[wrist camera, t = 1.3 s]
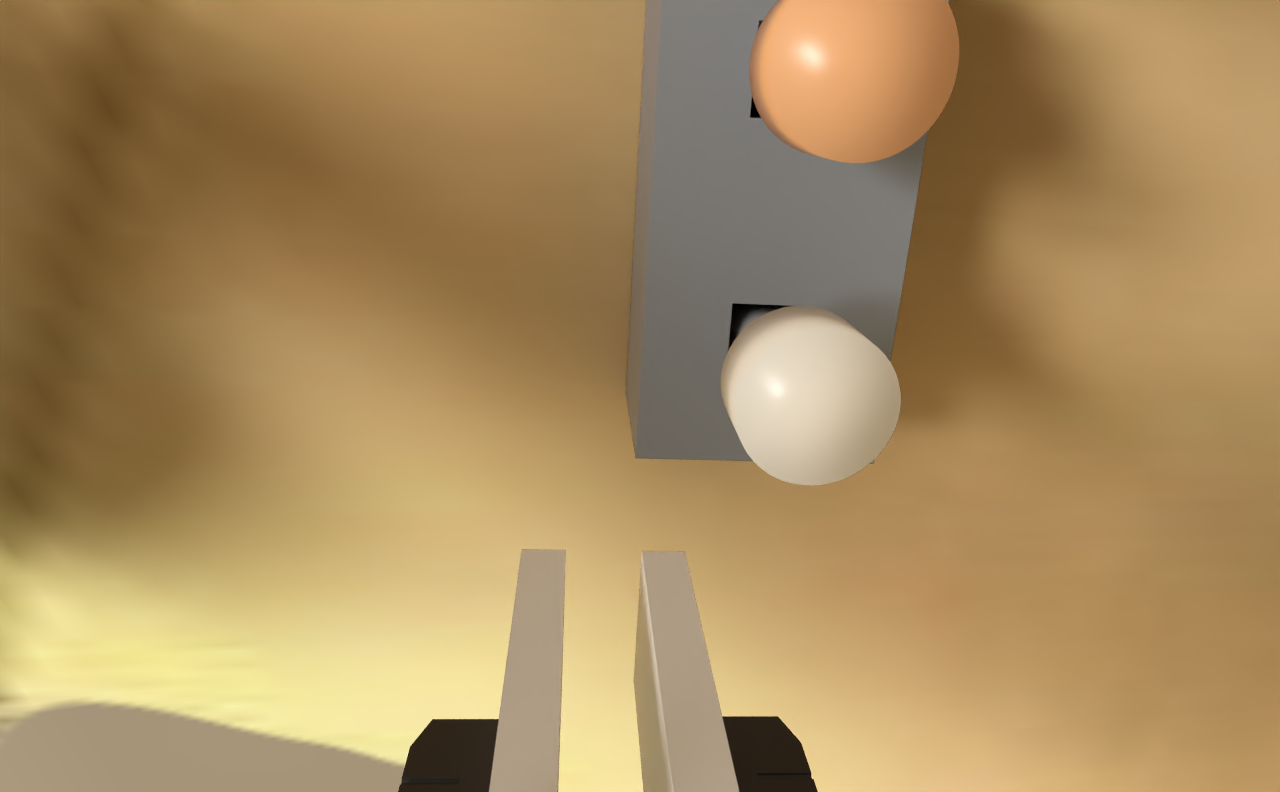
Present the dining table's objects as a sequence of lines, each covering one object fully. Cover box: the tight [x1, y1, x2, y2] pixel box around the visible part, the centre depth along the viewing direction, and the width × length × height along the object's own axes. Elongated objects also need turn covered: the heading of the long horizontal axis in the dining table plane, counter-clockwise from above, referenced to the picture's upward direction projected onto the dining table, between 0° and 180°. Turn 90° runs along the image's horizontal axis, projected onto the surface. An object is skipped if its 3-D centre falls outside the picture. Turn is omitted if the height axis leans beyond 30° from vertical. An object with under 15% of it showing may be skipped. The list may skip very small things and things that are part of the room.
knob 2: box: [721, 303, 901, 486], centre depth 31 cm, size 5×5×11 cm
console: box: [626, 0, 949, 464], centre depth 35 cm, size 10×20×8 cm, turn 177°
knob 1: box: [749, 0, 959, 163], centre depth 28 cm, size 5×5×11 cm
